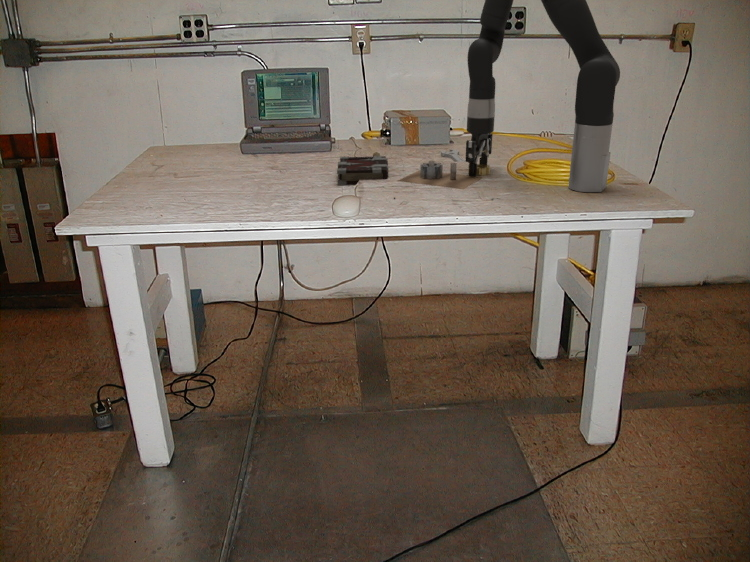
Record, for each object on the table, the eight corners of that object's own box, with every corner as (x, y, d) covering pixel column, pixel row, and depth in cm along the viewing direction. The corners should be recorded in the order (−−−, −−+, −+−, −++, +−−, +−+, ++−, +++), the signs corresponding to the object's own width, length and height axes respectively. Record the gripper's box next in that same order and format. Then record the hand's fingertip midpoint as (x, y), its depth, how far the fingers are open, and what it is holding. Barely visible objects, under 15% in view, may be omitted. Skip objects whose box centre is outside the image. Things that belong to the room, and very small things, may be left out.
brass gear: (492, 176, 180) (493, 164, 179) (484, 181, 175) (485, 169, 174) (472, 174, 183) (473, 162, 182) (464, 179, 178) (464, 167, 177)
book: (336, 186, 176) (336, 169, 174) (341, 166, 199) (340, 150, 197) (388, 185, 176) (388, 167, 173) (387, 165, 198) (387, 149, 196)
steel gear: (442, 174, 178) (443, 162, 177) (441, 179, 173) (442, 167, 171) (421, 174, 179) (421, 162, 178) (419, 179, 174) (419, 167, 172)
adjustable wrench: (473, 171, 189) (473, 165, 189) (452, 172, 189) (452, 166, 188) (457, 153, 212) (457, 148, 212) (438, 154, 212) (438, 149, 211)
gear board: (483, 182, 175) (484, 161, 172) (463, 194, 164) (464, 172, 161) (419, 175, 184) (419, 154, 182) (397, 186, 173) (396, 164, 171)
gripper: (484, 119, 165) (480, 180, 171) (502, 112, 176) (499, 169, 183) (458, 117, 168) (455, 177, 175) (478, 110, 180) (475, 166, 186)
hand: (477, 173), depth 179 cm, fingers open, 7 cm apart
